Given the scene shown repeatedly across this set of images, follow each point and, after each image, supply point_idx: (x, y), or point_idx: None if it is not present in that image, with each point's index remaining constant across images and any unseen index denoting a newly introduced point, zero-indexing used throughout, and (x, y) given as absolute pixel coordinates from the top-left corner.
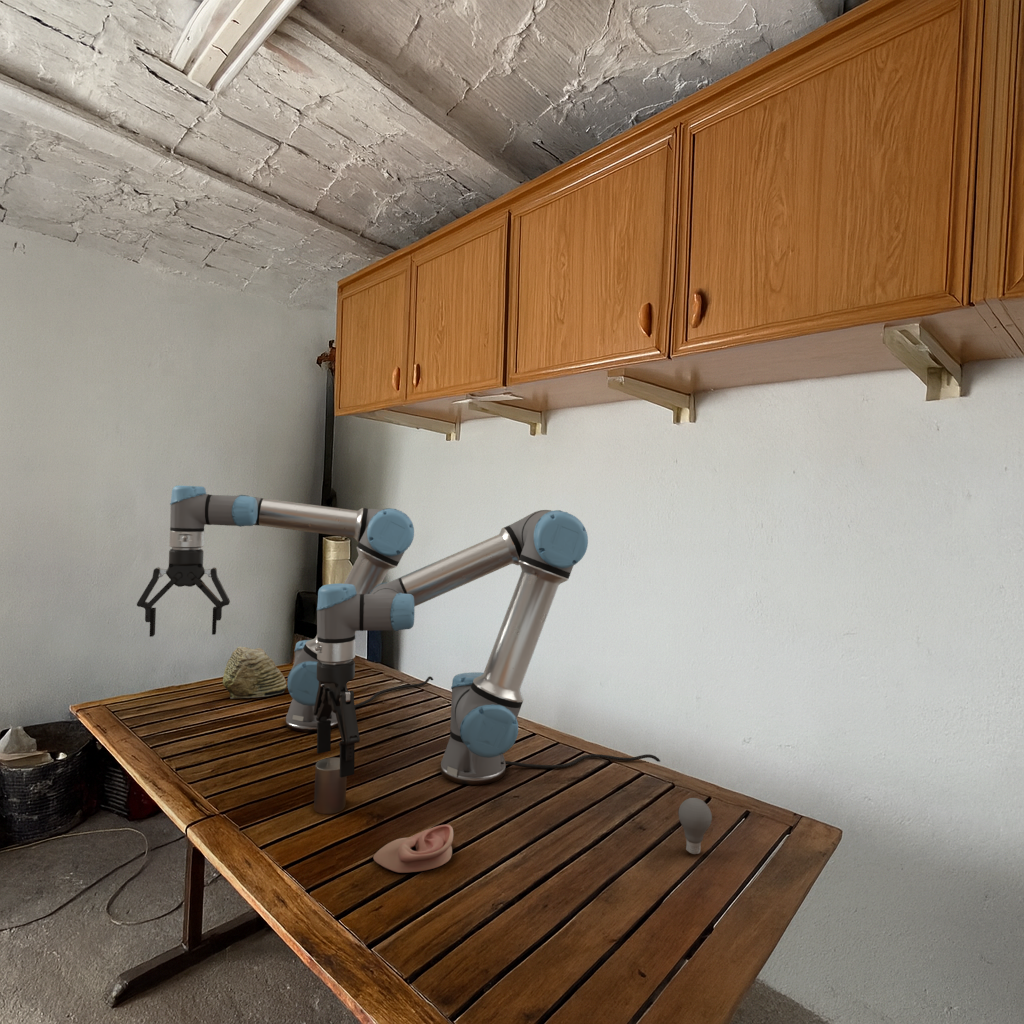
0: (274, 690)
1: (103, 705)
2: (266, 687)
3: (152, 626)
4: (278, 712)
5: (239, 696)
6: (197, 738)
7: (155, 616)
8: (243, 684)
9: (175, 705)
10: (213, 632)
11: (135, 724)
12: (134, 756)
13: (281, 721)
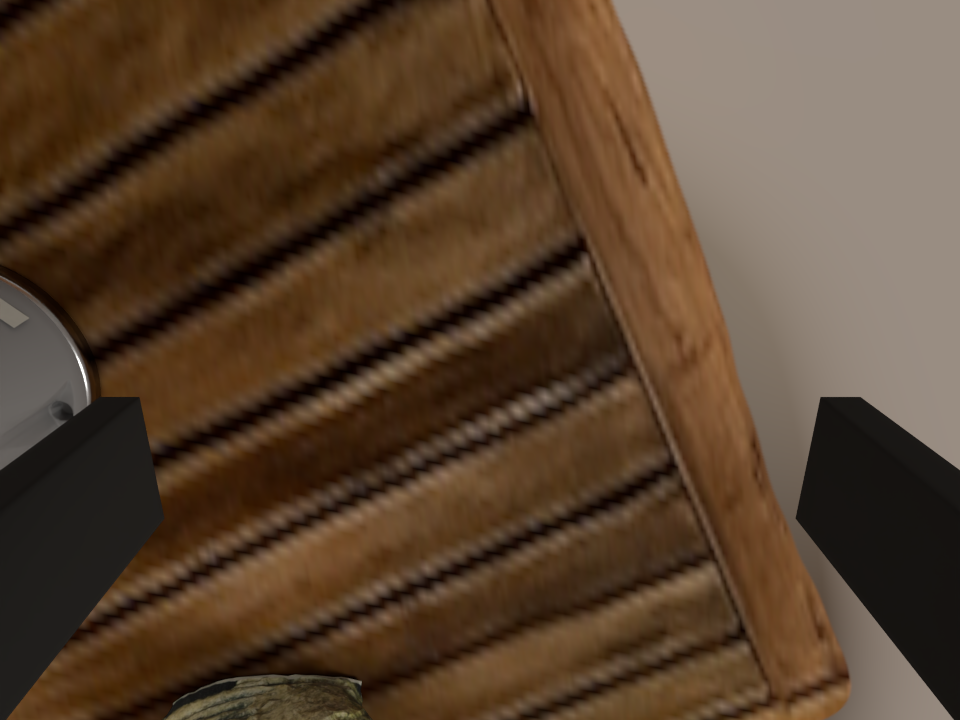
0: (196, 702)
1: (777, 697)
2: (219, 709)
3: (911, 464)
4: None
5: (326, 682)
6: (424, 303)
7: (941, 693)
8: (296, 711)
9: (544, 654)
10: (107, 410)
11: (661, 500)
12: (636, 165)
13: None
